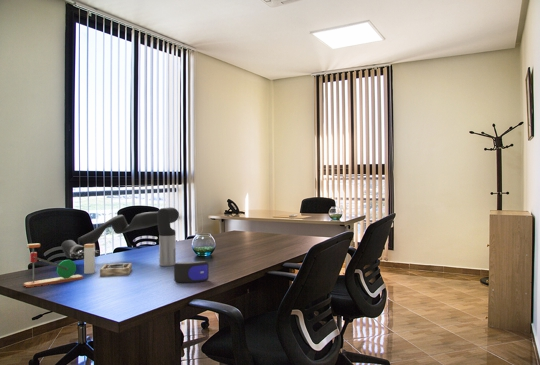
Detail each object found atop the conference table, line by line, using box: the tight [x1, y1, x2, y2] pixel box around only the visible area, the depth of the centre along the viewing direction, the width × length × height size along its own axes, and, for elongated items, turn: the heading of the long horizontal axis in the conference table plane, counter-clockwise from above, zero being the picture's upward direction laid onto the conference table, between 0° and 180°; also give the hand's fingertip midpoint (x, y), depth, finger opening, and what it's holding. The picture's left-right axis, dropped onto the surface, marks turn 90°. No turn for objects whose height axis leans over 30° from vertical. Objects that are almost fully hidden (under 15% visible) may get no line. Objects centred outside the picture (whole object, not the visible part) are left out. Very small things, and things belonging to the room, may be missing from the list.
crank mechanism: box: [23, 242, 84, 288], centre depth 195 cm, size 25×7×19 cm, turn 135°
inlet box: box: [99, 262, 133, 277], centre depth 215 cm, size 14×14×4 cm
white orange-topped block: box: [83, 243, 96, 274], centre depth 216 cm, size 4×4×15 cm
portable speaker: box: [173, 260, 210, 284], centre depth 193 cm, size 16×5×9 cm, turn 103°
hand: (89, 255), depth 216 cm, fingers open, 8 cm apart
